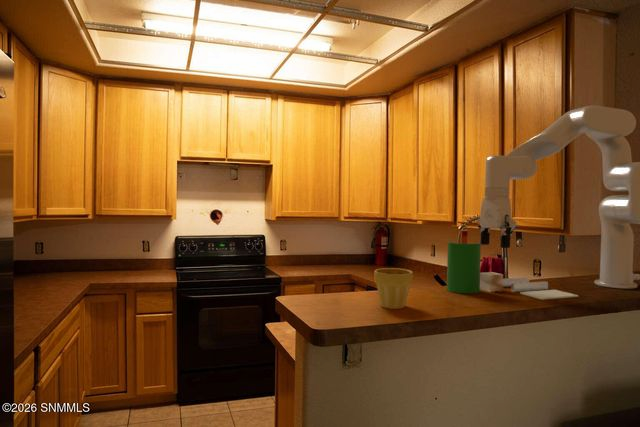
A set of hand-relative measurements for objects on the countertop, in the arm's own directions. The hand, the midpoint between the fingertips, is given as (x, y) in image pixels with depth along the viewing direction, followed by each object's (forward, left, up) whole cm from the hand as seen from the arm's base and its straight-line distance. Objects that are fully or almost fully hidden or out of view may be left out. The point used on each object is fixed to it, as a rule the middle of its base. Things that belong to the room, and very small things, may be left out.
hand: (494, 246), depth 151 cm
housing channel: (-11, 0, -14) cm, 18 cm away
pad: (-11, +12, -14) cm, 22 cm away
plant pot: (+43, +11, -15) cm, 47 cm away
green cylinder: (+11, -1, -15) cm, 18 cm away
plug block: (+1, 0, -15) cm, 15 cm away
